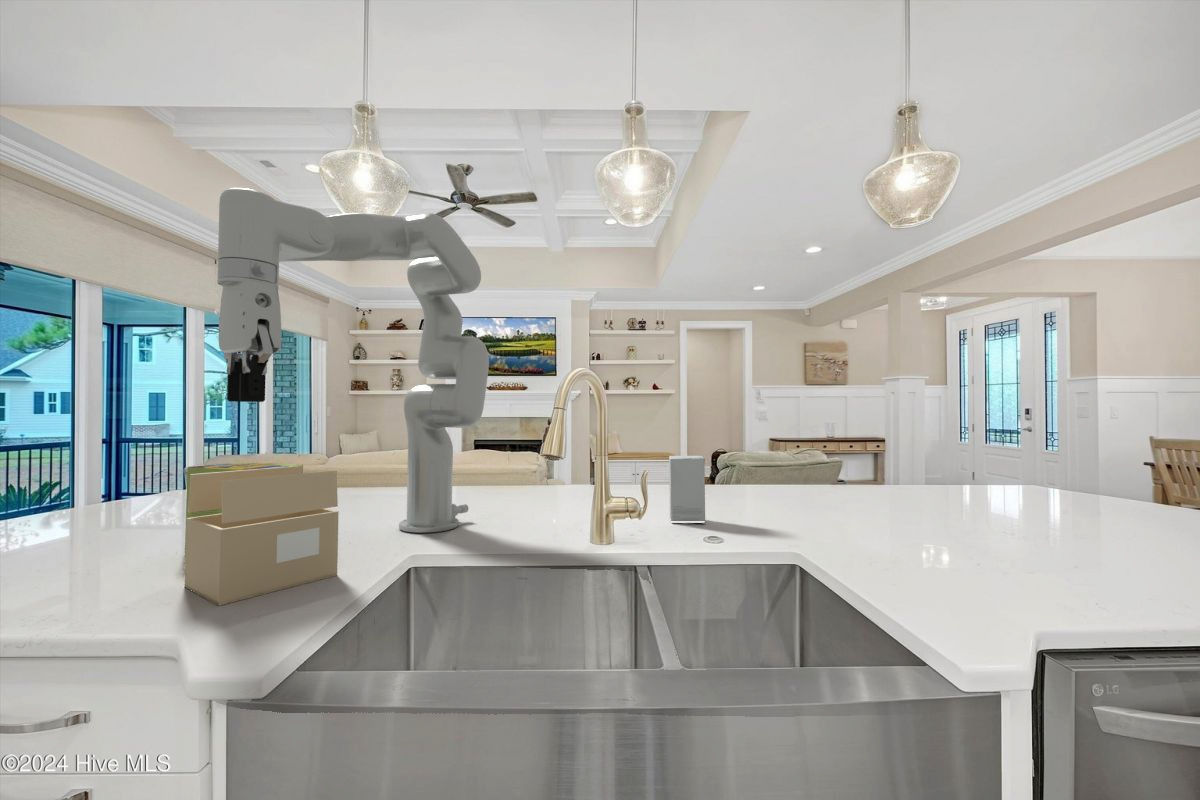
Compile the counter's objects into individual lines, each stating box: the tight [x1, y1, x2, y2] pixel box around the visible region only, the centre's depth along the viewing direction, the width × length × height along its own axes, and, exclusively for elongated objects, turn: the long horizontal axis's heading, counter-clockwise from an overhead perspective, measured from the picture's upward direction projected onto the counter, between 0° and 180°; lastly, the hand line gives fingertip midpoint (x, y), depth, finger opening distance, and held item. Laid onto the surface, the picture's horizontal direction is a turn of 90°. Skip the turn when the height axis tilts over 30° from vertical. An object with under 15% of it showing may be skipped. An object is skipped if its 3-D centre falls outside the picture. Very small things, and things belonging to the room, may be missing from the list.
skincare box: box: [668, 455, 706, 522], centre depth 126 cm, size 8×7×16 cm
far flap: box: [188, 466, 302, 513], centre depth 83 cm, size 16×6×1 cm
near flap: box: [221, 470, 339, 523], centre depth 77 cm, size 16×6×1 cm
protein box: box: [184, 461, 304, 553], centre depth 97 cm, size 10×15×16 cm
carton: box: [184, 508, 340, 607], centre depth 80 cm, size 16×12×10 cm
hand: (245, 400), depth 78 cm, fingers open, 3 cm apart
